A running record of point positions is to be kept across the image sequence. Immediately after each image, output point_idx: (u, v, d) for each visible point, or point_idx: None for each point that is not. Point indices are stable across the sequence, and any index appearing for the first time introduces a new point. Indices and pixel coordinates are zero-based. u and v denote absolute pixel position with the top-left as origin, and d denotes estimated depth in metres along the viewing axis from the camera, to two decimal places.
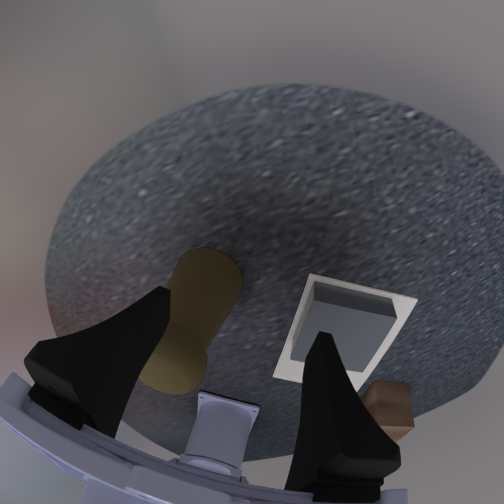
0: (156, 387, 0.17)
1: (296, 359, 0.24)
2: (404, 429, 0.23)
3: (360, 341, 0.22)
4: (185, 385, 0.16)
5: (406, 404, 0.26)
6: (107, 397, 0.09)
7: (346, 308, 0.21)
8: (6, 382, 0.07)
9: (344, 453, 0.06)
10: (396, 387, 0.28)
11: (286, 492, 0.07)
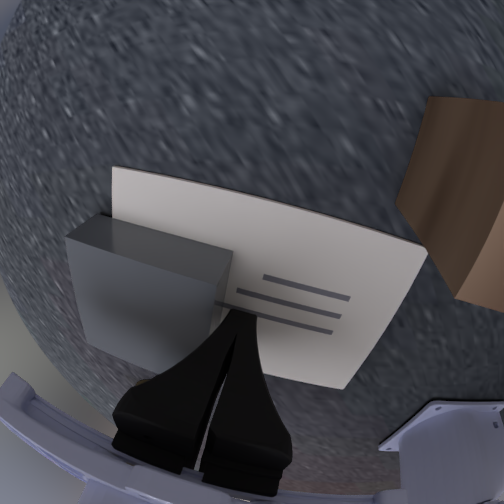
0: None
1: None
2: None
3: (123, 293, 0.12)
4: None
5: (461, 118, 0.06)
6: (201, 434, 0.08)
7: (80, 311, 0.13)
8: (6, 382, 0.07)
9: (212, 429, 0.06)
10: (423, 140, 0.08)
11: (286, 492, 0.07)
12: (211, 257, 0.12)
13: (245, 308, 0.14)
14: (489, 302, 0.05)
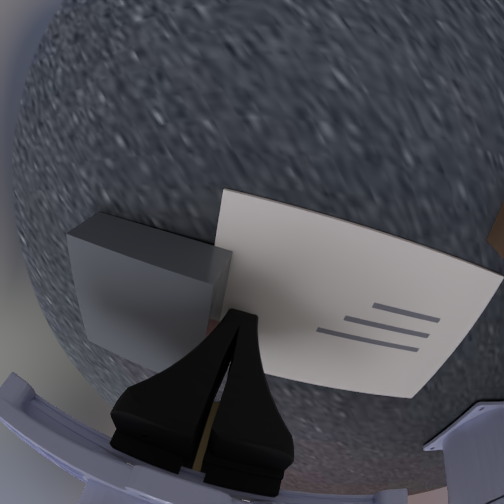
0: None
1: None
2: None
3: (122, 291, 0.12)
4: None
5: None
6: (199, 433, 0.08)
7: (80, 308, 0.13)
8: (6, 382, 0.07)
9: (214, 429, 0.06)
10: None
11: (286, 492, 0.07)
12: (209, 257, 0.12)
13: (348, 333, 0.14)
14: None
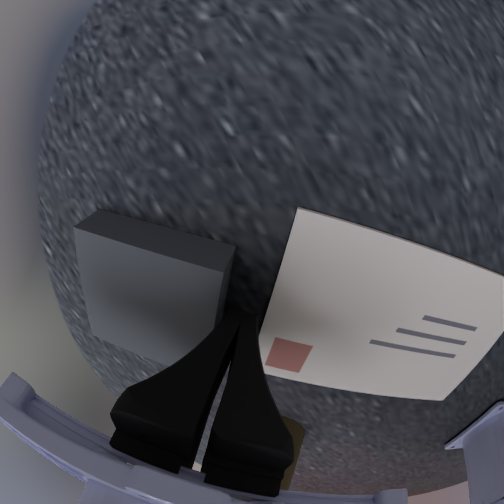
0: None
1: None
2: None
3: (130, 282, 0.12)
4: None
5: None
6: (199, 433, 0.08)
7: (86, 302, 0.13)
8: (6, 382, 0.07)
9: (214, 429, 0.06)
10: None
11: (286, 492, 0.07)
12: (217, 247, 0.12)
13: (397, 344, 0.13)
14: None
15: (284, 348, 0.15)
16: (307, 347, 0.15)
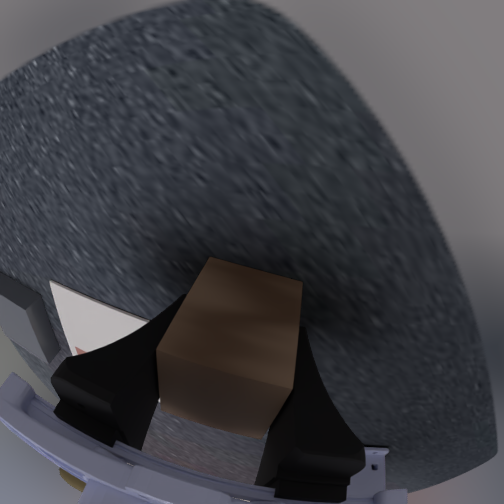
0: None
1: (45, 360, 0.20)
2: (173, 371, 0.09)
3: (5, 310, 0.18)
4: (71, 483, 0.17)
5: None
6: (138, 411, 0.09)
7: None
8: (6, 382, 0.07)
9: (299, 448, 0.06)
10: None
11: None
12: (31, 295, 0.19)
13: None
14: (186, 417, 0.11)
15: (82, 353, 0.21)
16: None
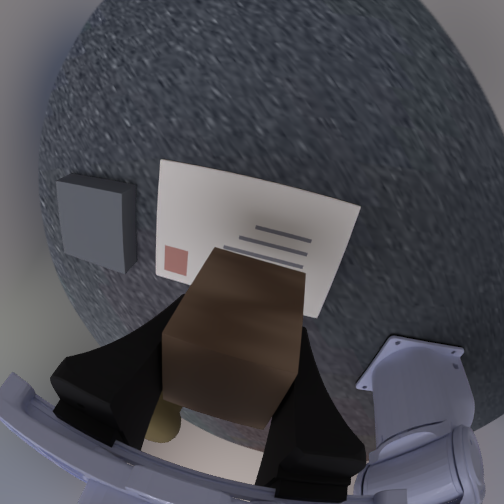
0: (156, 439, 0.19)
1: (122, 268, 0.22)
2: (178, 356, 0.09)
3: (83, 208, 0.20)
4: None
5: None
6: (138, 411, 0.09)
7: (61, 228, 0.22)
8: (6, 382, 0.07)
9: (300, 448, 0.06)
10: None
11: None
12: (125, 185, 0.21)
13: (244, 250, 0.22)
14: (188, 406, 0.11)
15: (172, 253, 0.23)
16: (185, 253, 0.23)
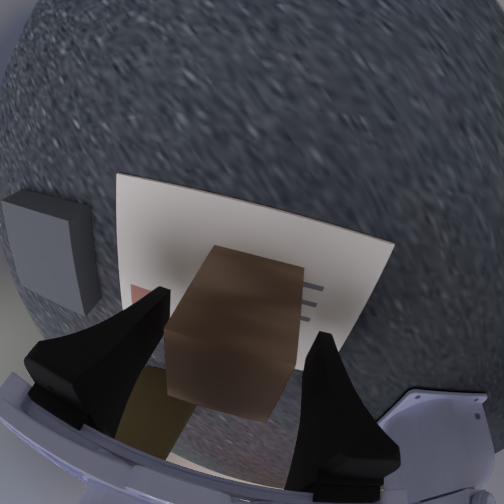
0: None
1: (81, 309, 0.17)
2: (180, 351, 0.10)
3: (30, 236, 0.14)
4: None
5: None
6: (107, 397, 0.09)
7: (13, 256, 0.16)
8: (6, 382, 0.07)
9: (344, 453, 0.06)
10: None
11: (286, 492, 0.07)
12: (77, 207, 0.15)
13: None
14: (192, 401, 0.11)
15: (140, 294, 0.17)
16: None
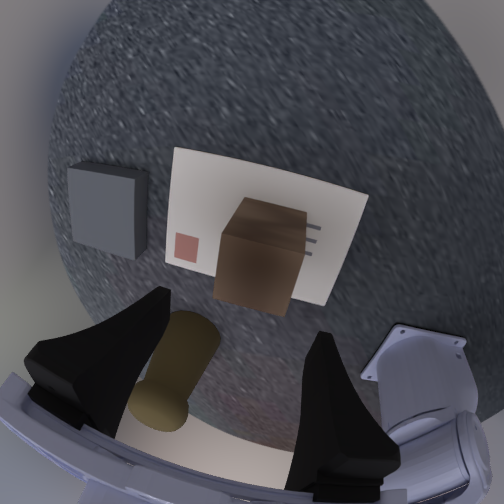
0: (163, 427, 0.20)
1: (132, 254, 0.23)
2: (229, 251, 0.16)
3: (94, 194, 0.21)
4: (148, 411, 0.19)
5: None
6: (107, 397, 0.09)
7: (71, 215, 0.22)
8: (6, 382, 0.07)
9: (344, 453, 0.06)
10: None
11: (286, 492, 0.07)
12: (137, 172, 0.21)
13: None
14: (230, 301, 0.18)
15: (182, 241, 0.23)
16: (196, 240, 0.23)
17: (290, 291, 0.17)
